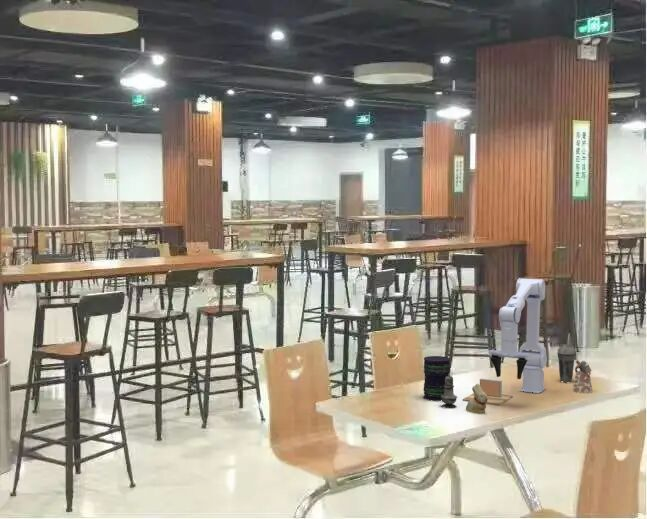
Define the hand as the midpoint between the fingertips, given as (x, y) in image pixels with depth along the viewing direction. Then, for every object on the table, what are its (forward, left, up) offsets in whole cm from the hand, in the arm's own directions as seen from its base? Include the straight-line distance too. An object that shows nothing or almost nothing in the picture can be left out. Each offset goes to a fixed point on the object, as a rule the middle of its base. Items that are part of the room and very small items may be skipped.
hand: (508, 377), depth 296 cm
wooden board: (-6, -10, -10) cm, 15 cm away
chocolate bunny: (+14, -7, -10) cm, 19 cm away
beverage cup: (-51, +7, -10) cm, 52 cm away
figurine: (-37, +17, -10) cm, 42 cm away
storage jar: (+2, -27, -10) cm, 29 cm away
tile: (-9, -10, -9) cm, 16 cm away
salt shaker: (+12, -18, -10) cm, 24 cm away
